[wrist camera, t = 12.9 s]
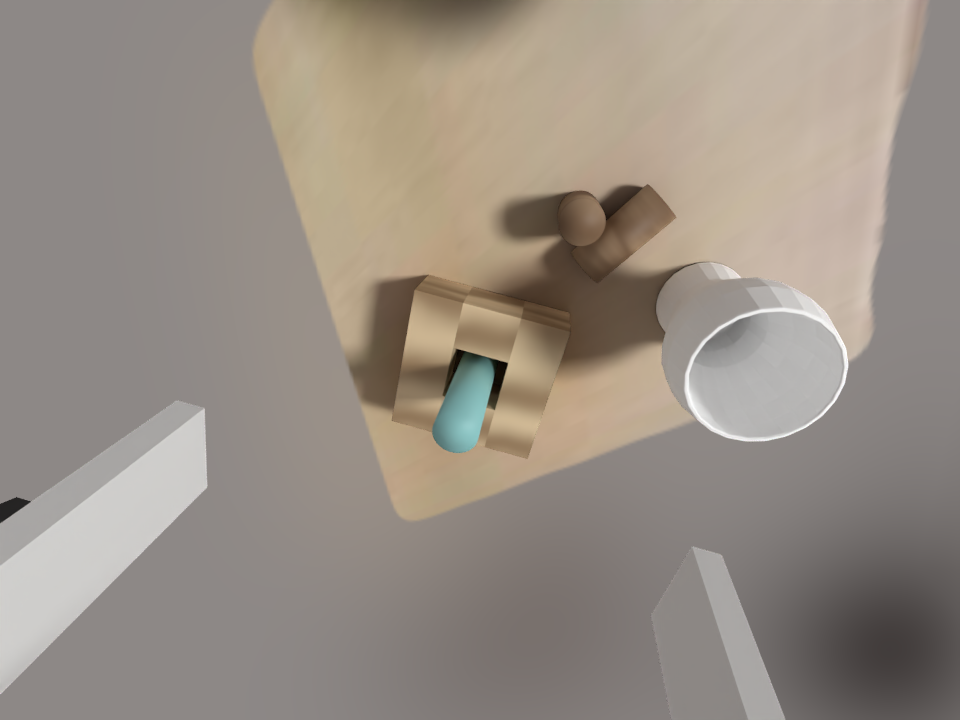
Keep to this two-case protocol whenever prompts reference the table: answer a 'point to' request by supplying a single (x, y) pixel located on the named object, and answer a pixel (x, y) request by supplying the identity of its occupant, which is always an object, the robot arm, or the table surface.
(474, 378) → the pin long
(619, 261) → the pin medium
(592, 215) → the pin short
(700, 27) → the table surface
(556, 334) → the hole block
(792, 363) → the cup
